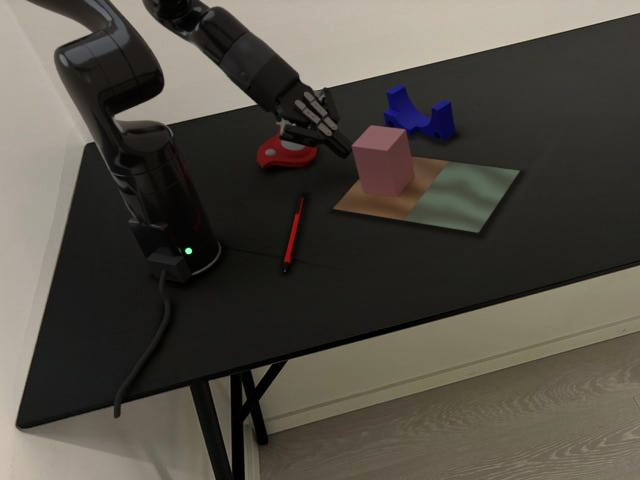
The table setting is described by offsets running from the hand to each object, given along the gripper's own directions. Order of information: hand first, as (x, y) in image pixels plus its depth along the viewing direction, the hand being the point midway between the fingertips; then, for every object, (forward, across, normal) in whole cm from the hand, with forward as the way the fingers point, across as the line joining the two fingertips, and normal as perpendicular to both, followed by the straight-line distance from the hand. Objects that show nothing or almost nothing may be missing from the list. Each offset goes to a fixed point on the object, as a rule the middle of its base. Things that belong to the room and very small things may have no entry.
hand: (349, 154), depth 128 cm
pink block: (+7, 0, +1) cm, 7 cm away
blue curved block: (+6, -16, -1) cm, 17 cm away
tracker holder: (-7, -5, -14) cm, 17 cm away
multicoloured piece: (+12, 0, +5) cm, 13 cm away
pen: (+2, +14, -6) cm, 15 cm away
